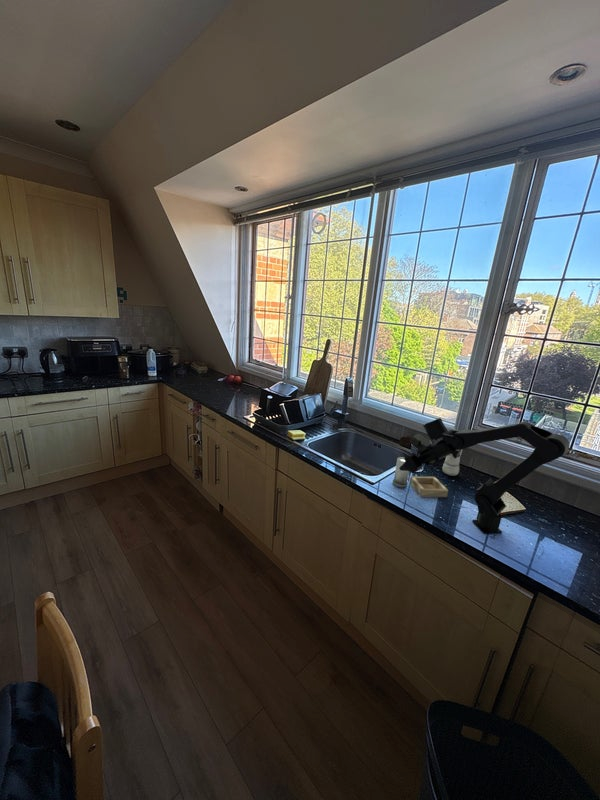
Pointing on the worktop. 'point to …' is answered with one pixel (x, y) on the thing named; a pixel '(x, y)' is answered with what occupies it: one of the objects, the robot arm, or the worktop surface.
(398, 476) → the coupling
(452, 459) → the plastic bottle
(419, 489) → the square wooden tray
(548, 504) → the worktop surface
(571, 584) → the worktop surface
